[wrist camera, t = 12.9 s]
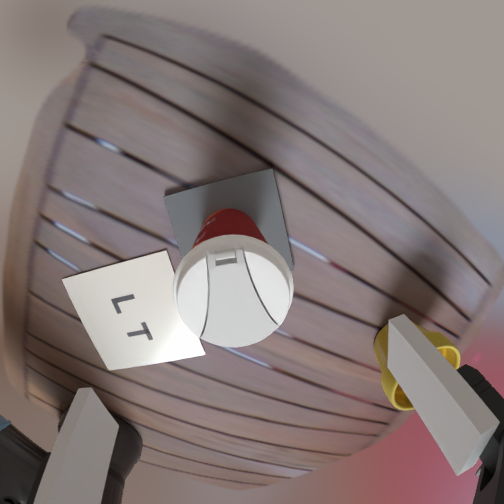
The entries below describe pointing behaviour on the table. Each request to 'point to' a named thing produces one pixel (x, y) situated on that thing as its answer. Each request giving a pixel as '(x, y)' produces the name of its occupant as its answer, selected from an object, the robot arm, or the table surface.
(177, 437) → the table surface
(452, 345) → the plant pot
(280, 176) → the table surface
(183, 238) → the slate coaster
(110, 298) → the tile
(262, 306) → the paper cup
